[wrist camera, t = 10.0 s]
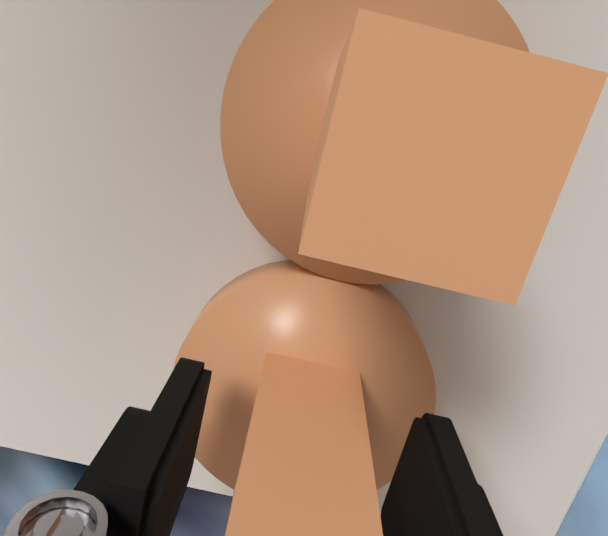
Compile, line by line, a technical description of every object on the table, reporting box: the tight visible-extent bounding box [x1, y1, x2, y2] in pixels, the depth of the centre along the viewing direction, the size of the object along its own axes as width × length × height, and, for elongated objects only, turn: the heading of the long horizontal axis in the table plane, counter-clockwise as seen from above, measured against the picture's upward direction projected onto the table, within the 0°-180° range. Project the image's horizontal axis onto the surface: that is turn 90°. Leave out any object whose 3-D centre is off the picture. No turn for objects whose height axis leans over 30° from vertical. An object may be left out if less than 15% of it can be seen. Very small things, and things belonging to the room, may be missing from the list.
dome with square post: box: [173, 260, 436, 536], centre depth 12 cm, size 7×7×10 cm
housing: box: [0, 0, 608, 536], centre depth 11 cm, size 22×16×10 cm
